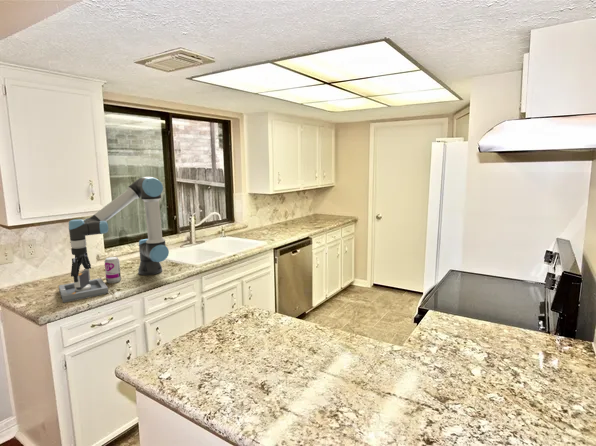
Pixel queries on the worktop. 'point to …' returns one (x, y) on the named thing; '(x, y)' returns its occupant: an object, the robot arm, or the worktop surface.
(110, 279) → the supplement can
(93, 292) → the dial panel
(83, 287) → the dial
